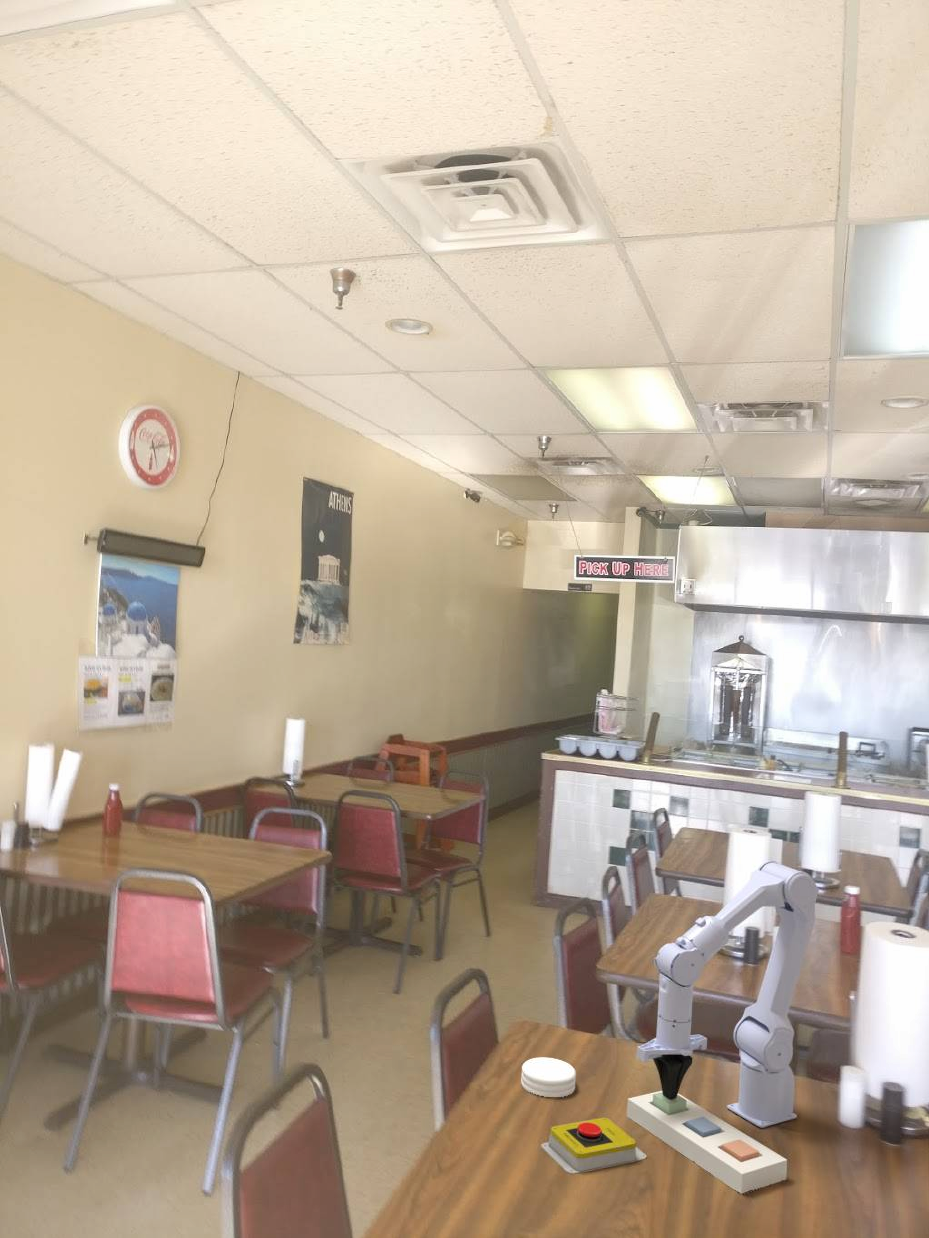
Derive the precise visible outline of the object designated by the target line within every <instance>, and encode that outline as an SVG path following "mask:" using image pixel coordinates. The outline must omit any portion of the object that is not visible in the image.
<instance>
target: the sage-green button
mask: <svg viewBox="0 0 929 1238" xmlns="http://www.w3.org/2000/svg"><path fill="white" fill-rule="evenodd" d="M652 1105H653V1106H655V1107H656V1108H658V1109H659V1110H661V1111H662V1112H664V1113H666V1114H667V1115H672V1114H676V1113H680V1112H684V1111H686V1100H685V1099H684V1098H682V1097H680V1096H679V1095H677V1097H676V1098H675V1099H669V1098H667V1097H666V1096H664V1095H663V1092H661V1093H656V1094H653V1103H652Z"/></svg>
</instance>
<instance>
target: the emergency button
mask: <svg viewBox="0 0 929 1238" xmlns="http://www.w3.org/2000/svg"><path fill="white" fill-rule="evenodd" d="M549 1131H550V1132H549V1138H548V1139H549V1140H548V1141H547V1142H543V1143H541V1145H540V1146H541V1149H542V1150H543V1151H544V1152H545V1153H547V1155H548V1156H550V1157H551V1159H552V1160H554V1161H555V1162H556V1163H557V1165H559V1166H560V1167H561V1168H562V1170H564V1172H566V1173H568V1174H571V1175H577V1174H580V1173H581V1172H582V1173H586V1172H590V1171H595V1170H600V1169H604V1168H609V1167H615V1166H620V1165H624V1164H630V1163H634V1162H635V1163H636V1162H638V1161H644V1160H646V1159H647V1158H648V1157H647V1155H646V1153H644V1152H643V1151H642V1150H641V1149H640V1148H639V1147H637V1144H636V1140H635V1139H634V1138H632V1136H630V1135H628V1134H627V1133H626V1132H625V1131H624V1130H623V1129H622V1128H620V1127H619V1126H618V1125H616V1124H615V1123H614V1122H613V1121H612V1120H610V1119H609V1118H606V1117H599V1118H593V1119H589V1120H582V1121H577V1122H572V1123H566V1124H559V1125H555V1126H551V1127H550V1130H549ZM582 1173H581V1174H582Z"/></svg>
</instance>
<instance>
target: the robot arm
mask: <svg viewBox="0 0 929 1238" xmlns="http://www.w3.org/2000/svg"><path fill="white" fill-rule="evenodd" d="M819 891H820V889H819V888H818V886H817V883H816V882H815V880H814V879H813V877H812V876H811V875H810V874H809V873H807V872H805V871H801V870H798V869H794V868H791V867H789V866H788V865H787V866H786V865H783V864H780V863H779V862H778V861H775V860H767V861H765V862H762V863H761V864H760V866H758V868H757V869H755V870H754V871H752V872H751V873H750V877H749V880H748V882H747V883H746V884H745V886H743V887H742V888H741V890H740V891H739V892H738V893H736V894H735V896H733V898H732V899H731V900H729V901H728V902H727V903H726V905H725V906H724V907H723V908H721V910H720V911H719V912H717V914H716V915H714V916H712V915H710V916H709V915H705V916H703V917H699V918H697V919H696V920H695V924H694V925H692V927H690V929H689V930H687V931H686V932H685V933H684V934H682V936H679V937H678V938H677V939H675V942H670V943H666V944H664V945H662V946H661V948H659V950H658V952H657V955H656V957H654V958H653V963H654V967H655V969H656V971H657V972H658V974H659V975H658V982H659V987H658V988H659V989H658V1001H657V1003H658V1004H657V1021H656V1022H657V1023H656V1037H655V1038H652V1039H651V1040H649V1041H648V1042H645V1043H643V1044H642V1045H638V1046H637V1049H636V1058H637V1059H638V1060H640V1061H642V1062H644V1063H648V1062H649V1060H652V1061H653V1062H654V1064H655V1067H656V1070H657V1072H658V1076H659V1080H660V1081H659V1082H660V1084H661V1085H660V1086H661V1091H662V1092H663V1095H664V1096H666V1097H667V1098H669V1099H675V1098H676V1097H677V1094H679V1091H680V1087H681V1085H682V1082H683V1080H684V1078H685V1075H686V1073H687V1072H688V1070H689V1069H690V1067H691V1066H692V1065H693V1060H694V1058H693V1057H692V1056H691V1055H693V1053H694V1051H695V1050H696V1051H697V1050H701V1051H704V1050H707V1047H708V1046H707V1045H708V1038H707V1037H705V1036H704V1035H701V1034H691V1032H692V1031H691V1029H692V1015H693V1014H692V1013H693V999H694V998H693V997H694V985H695V984H694V983H696V982H697V981H699V979H700V978H701V975H702V972H703V969H704V967H705V966H706V963H707V962H708V961H709V960H710V959H711V958H712V957H714V956H715V955H716V954H717V953H718V952H719V951H720V950H721V949H723V948H724V947H725V946H726V945H727V944H728V943H729V940H730V939H729V937H730V935H729V934H730V932H731V931H732V930H733V929H735V928H736V927H737V926H739V925H740V924H742V923H743V922H744V921H746V920H747V919H748V918H750V917H751V916H752V915H753V914H755V913H756V912H758V911H759V909H762V908H763V907H772V908H773V907H774V908H775V910H776V911H777V914H778V916H779V917H780V918H781V919H780V921H779V922H780V923H779V926H778V929H777V933H776V936H775V940H774V942H773V947H772V948H771V949H772V950H771V953H770V956H769V960H768V962H767V967H766V970H765V973H764V977H763V980H762V983H761V987H760V990H759V993H758V997H757V1001H756V1002H755V1003H753V1004H751V1005H750V1006H746V1007H745V1009H744V1012H743V1015H742V1017H741V1019H739V1021H738V1022H737V1023H736V1025H735V1027H734V1029H733V1042H734V1044H735V1047H737V1048H738V1049H739V1050H738V1051H739V1052H738V1053H739V1055H738V1056H739V1057H740V1064H739V1065H740V1067H739V1083H738V1084H739V1086H738V1100H737V1102H735V1103H731V1104H727V1109H728V1110H729V1111H732V1112H733V1113H735V1114H737V1115H738V1116H740V1117H742V1118H744V1119H745V1120H747V1121H749V1122H750V1123H751V1124H753V1125H755V1126H757V1127H758V1128H765V1127H769V1126H772V1125H777V1124H779V1123H780V1124H781V1123H784V1122H786V1121H790V1120H791V1121H792V1120H794V1119H796V1118H797V1117H798V1116H797V1114H796V1113H794V1098H795V1075H794V1072H793V1070H792V1068H791V1066H790V1065H789V1064H790V1063H791V1061H792V1059H793V1056H794V1055H793V1054H794V1048H793V1047H794V1046H793V1040H794V1035H795V1031H794V1028H793V1026H792V1023H791V1021H790V1019H789V1017H788V1015H789V1011H790V1008H791V1004H792V1001H793V997H794V995H795V994H794V993H795V992H796V991H795V990H796V987H797V983H798V980H799V977H800V974H801V970H802V967H803V963H804V960H805V957H806V953H807V949H808V946H809V943H810V939H811V936H812V933H813V928H814V926H815V922H816V901H817V899H818V898H817V897H818V896H819Z"/></svg>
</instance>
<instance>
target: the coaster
mask: <svg viewBox="0 0 929 1238" xmlns="http://www.w3.org/2000/svg"><path fill="white" fill-rule="evenodd" d="M520 1075H521V1079H520V1084H521V1086H522V1088H523V1089H524V1090H525V1091H527V1092H528V1093H530V1092H531V1093H530V1094H532V1093H533V1094H532V1095H534V1094H536V1095H535V1096H537V1095H539V1096H538V1097H541V1096H544V1097H543V1098H546V1097H562V1098H565V1097H564V1096H566V1097H569V1096H571V1095H572V1094H573V1093H574V1091H575V1090H576V1080H577V1079H576V1076H577V1072H576V1069H575V1068H574V1067H573V1066H572V1065H571V1064H570V1063H568V1062H567V1061H564V1060H561V1059H557V1058H554V1057H546V1056H545V1057H543V1056H542V1057H534V1058H530V1059H528V1060H526V1061H525V1062H523V1064H522V1066H521V1074H520ZM570 1094H571V1095H570ZM568 1095H569V1096H568Z"/></svg>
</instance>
